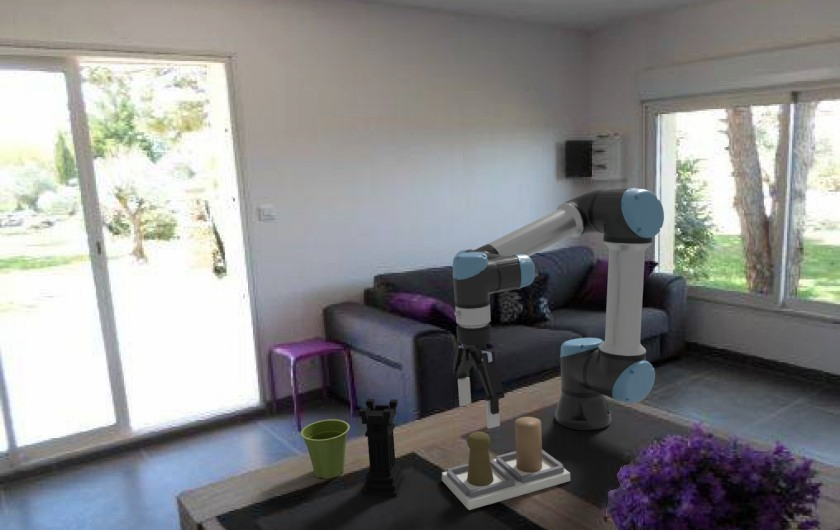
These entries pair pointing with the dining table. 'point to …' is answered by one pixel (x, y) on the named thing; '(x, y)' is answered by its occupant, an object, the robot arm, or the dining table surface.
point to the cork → (479, 460)
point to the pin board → (511, 470)
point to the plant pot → (326, 446)
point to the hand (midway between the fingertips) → (478, 415)
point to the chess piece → (381, 449)
